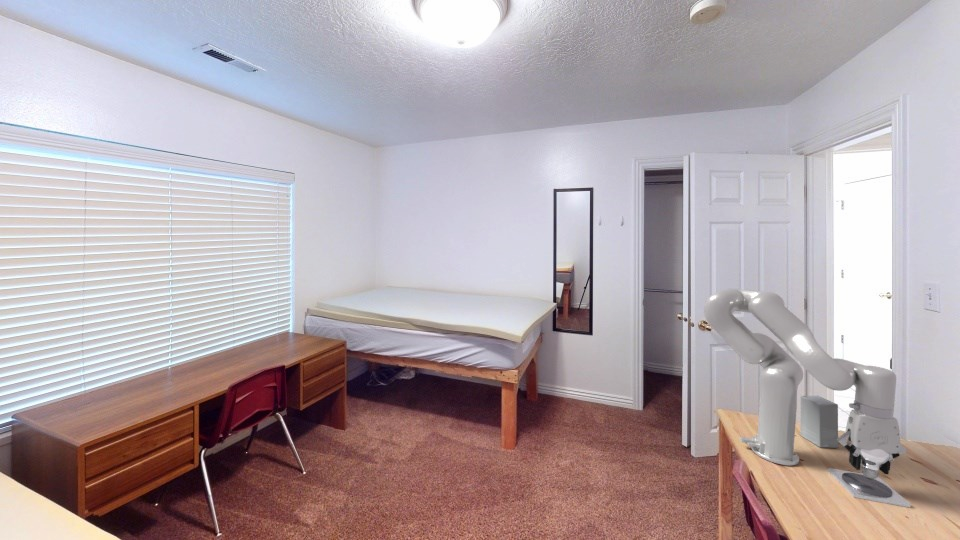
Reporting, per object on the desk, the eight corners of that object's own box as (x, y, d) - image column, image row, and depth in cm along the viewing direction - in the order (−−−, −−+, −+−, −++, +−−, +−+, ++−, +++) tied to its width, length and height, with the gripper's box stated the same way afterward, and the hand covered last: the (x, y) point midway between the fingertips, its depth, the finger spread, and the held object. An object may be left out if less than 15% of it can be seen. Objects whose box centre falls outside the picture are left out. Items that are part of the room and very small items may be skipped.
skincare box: (838, 448, 122) (842, 405, 121) (817, 448, 123) (820, 404, 122) (816, 435, 131) (820, 394, 130) (796, 434, 131) (799, 394, 130)
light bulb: (895, 487, 98) (898, 447, 97) (865, 484, 100) (868, 444, 99) (872, 472, 105) (875, 433, 104) (845, 469, 106) (847, 431, 106)
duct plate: (853, 497, 99) (853, 492, 99) (827, 470, 111) (828, 467, 110) (910, 507, 95) (910, 503, 95) (877, 479, 107) (877, 475, 107)
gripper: (843, 411, 100) (839, 471, 102) (925, 420, 95) (919, 484, 96) (827, 400, 107) (823, 456, 109) (902, 408, 102) (897, 467, 103)
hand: (868, 468), depth 102 cm, fingers closed on light bulb, 5 cm apart
